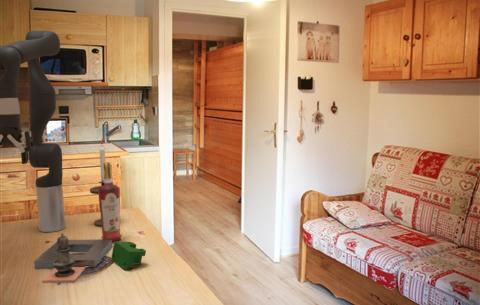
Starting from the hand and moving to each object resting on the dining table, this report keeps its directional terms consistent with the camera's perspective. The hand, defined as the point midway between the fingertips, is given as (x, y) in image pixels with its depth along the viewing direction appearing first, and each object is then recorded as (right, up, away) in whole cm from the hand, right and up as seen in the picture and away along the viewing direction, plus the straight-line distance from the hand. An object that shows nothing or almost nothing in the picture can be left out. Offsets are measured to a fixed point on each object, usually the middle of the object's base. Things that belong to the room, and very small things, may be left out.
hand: (11, 163), depth 135 cm
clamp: (+38, -31, -4) cm, 49 cm away
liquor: (+27, -28, +16) cm, 42 cm away
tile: (+22, -32, -12) cm, 41 cm away
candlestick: (+19, -25, +36) cm, 48 cm away
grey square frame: (+20, -30, +1) cm, 36 cm away
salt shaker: (+22, -31, -12) cm, 40 cm away
